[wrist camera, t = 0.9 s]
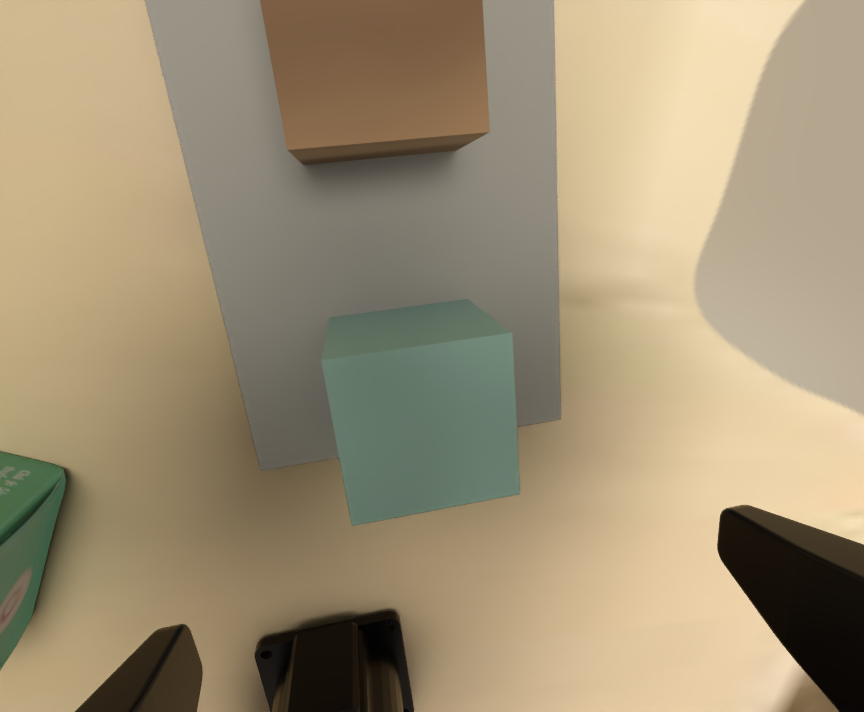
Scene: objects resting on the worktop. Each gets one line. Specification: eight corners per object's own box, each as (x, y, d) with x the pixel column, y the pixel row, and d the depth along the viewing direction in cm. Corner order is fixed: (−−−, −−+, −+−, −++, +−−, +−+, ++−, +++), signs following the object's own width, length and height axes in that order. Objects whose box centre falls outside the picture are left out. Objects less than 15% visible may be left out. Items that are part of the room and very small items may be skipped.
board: (551, 409, 20) (560, 419, 19) (265, 457, 19) (260, 471, 18) (540, -39, 15) (552, -55, 14) (149, -23, 14) (135, -40, 13)
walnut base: (456, 150, 16) (490, 132, 12) (303, 165, 15) (287, 150, 11) (442, -31, 14) (475, -119, 10) (270, -23, 13) (239, -114, 10)
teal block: (477, 422, 19) (520, 494, 14) (351, 443, 18) (351, 526, 13) (467, 298, 17) (512, 332, 12) (329, 317, 17) (321, 360, 12)
